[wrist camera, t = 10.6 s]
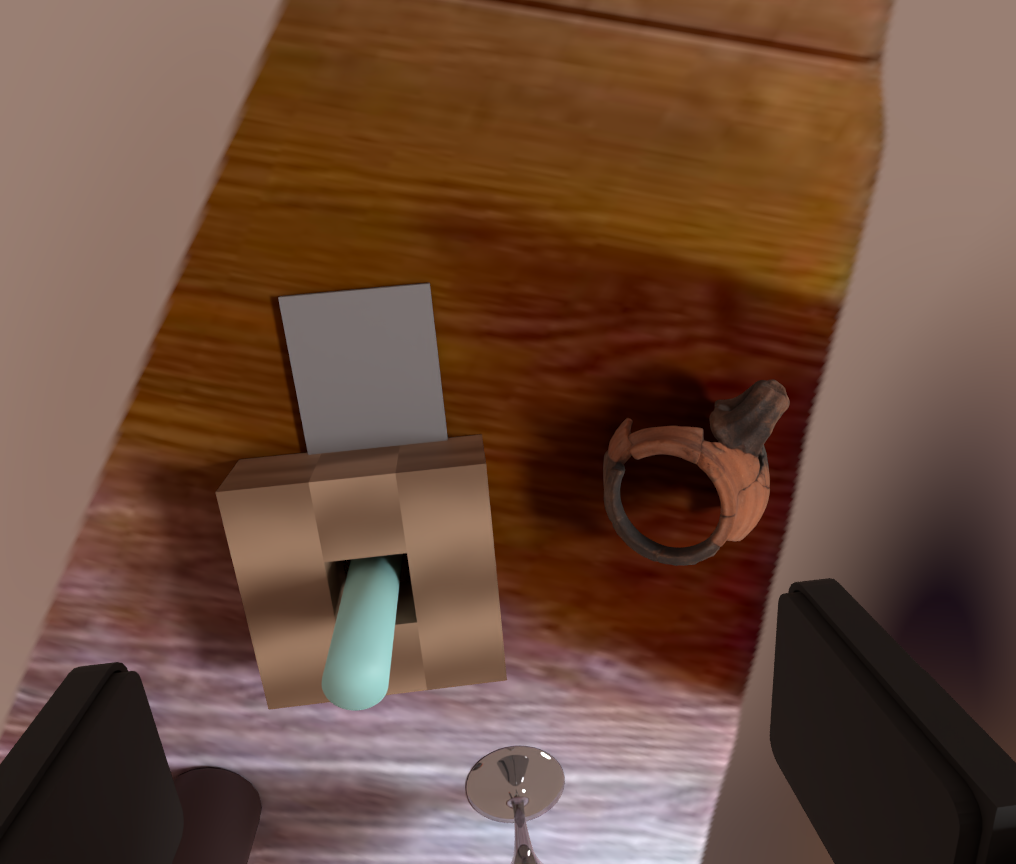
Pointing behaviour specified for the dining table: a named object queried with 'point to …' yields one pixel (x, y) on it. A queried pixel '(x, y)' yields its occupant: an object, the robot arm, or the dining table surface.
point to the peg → (363, 634)
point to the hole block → (360, 534)
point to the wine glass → (516, 791)
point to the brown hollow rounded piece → (704, 468)
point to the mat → (365, 367)
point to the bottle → (216, 817)
